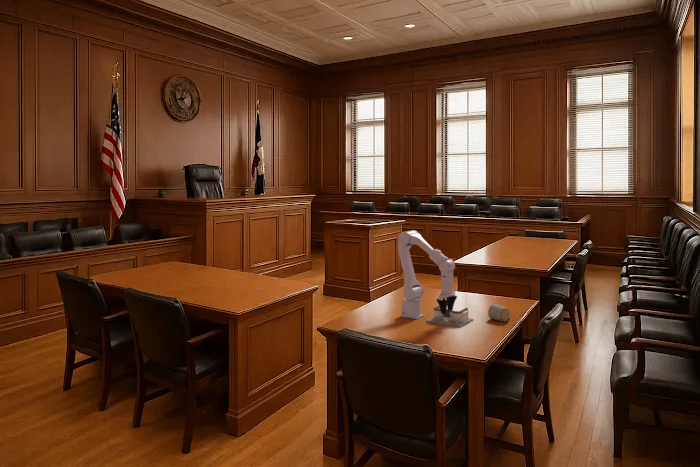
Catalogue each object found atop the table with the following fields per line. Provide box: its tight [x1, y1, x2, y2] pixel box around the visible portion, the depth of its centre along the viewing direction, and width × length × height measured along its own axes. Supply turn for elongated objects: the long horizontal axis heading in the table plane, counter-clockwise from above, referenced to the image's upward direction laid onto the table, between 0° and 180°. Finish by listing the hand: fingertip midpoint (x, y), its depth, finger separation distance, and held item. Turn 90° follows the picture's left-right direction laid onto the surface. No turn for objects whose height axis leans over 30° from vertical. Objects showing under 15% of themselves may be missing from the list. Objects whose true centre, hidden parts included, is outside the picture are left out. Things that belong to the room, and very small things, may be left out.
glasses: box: [433, 305, 469, 321], centre depth 253 cm, size 10×14×5 cm
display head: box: [426, 308, 474, 329], centre depth 252 cm, size 15×18×6 cm
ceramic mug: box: [487, 303, 511, 322], centre depth 254 cm, size 11×8×8 cm
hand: (446, 311), depth 249 cm, fingers open, 7 cm apart
